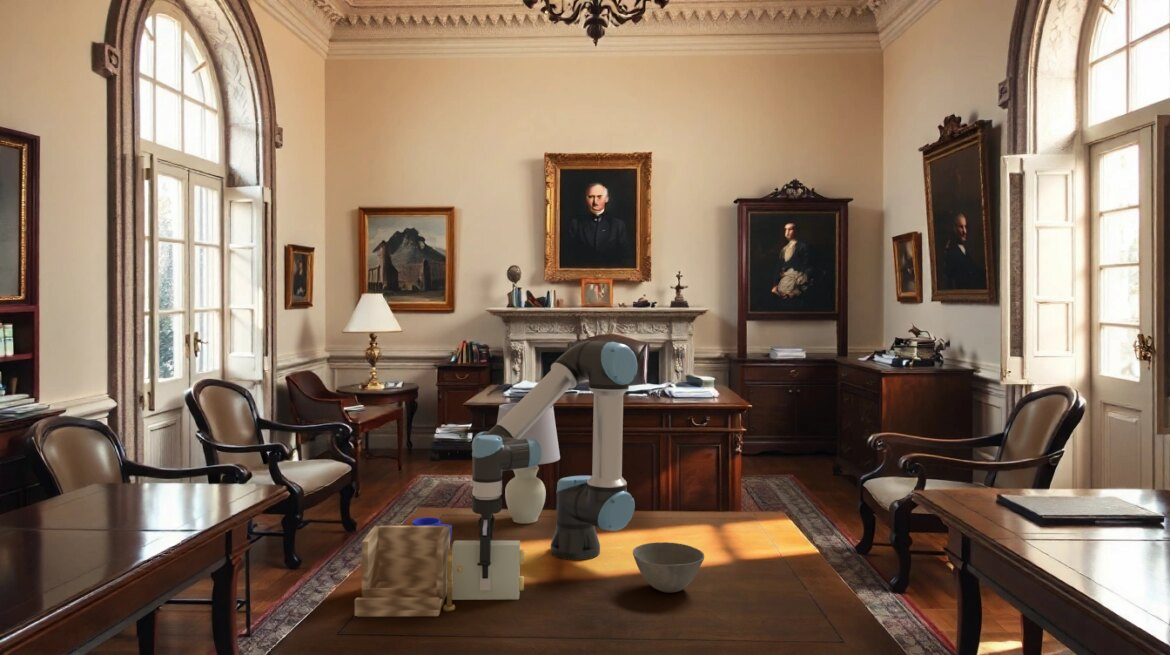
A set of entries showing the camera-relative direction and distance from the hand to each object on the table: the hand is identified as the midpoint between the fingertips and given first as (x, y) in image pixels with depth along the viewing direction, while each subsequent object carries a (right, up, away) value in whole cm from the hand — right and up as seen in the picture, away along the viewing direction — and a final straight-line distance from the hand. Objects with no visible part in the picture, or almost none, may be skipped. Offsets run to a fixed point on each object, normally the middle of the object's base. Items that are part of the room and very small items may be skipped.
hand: (486, 586), depth 202 cm
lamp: (+5, -1, +72) cm, 72 cm away
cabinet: (-19, -3, -3) cm, 19 cm away
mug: (-20, -2, +33) cm, 39 cm away
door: (0, -3, 0) cm, 3 cm away
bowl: (+47, -3, +6) cm, 48 cm away
